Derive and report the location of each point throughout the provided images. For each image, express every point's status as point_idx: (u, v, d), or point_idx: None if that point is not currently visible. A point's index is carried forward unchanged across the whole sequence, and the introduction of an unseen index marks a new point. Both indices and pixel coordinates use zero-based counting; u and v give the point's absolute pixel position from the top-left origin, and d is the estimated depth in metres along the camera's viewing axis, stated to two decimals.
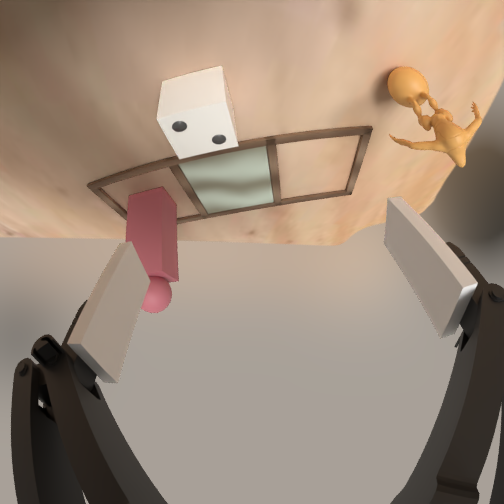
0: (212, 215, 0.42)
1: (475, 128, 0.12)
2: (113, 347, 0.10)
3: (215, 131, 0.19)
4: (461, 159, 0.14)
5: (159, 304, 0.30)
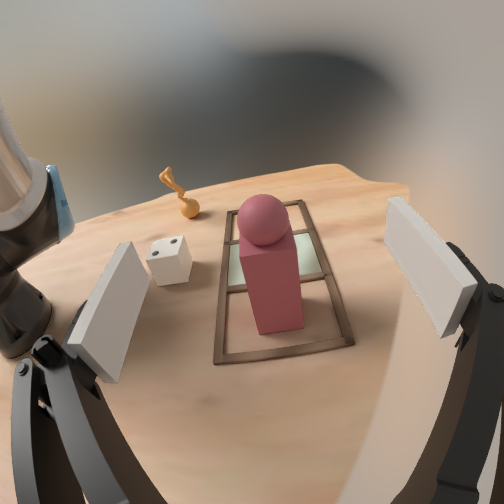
0: (325, 267, 0.37)
1: None
2: (113, 347, 0.10)
3: (168, 242, 0.41)
4: (166, 169, 0.50)
5: None
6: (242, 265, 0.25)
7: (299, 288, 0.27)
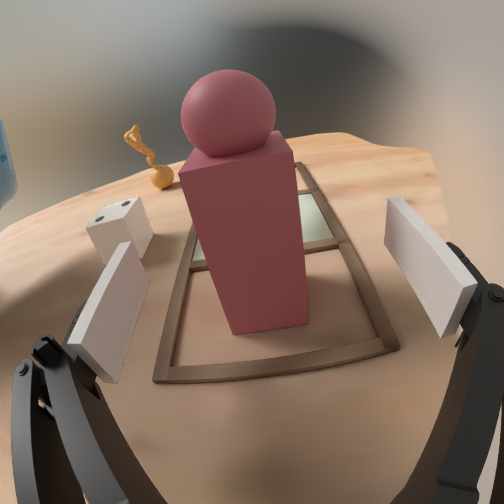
0: (338, 232, 0.24)
1: None
2: (113, 347, 0.10)
3: (118, 205, 0.28)
4: None
5: None
6: (186, 192, 0.12)
7: (301, 244, 0.14)
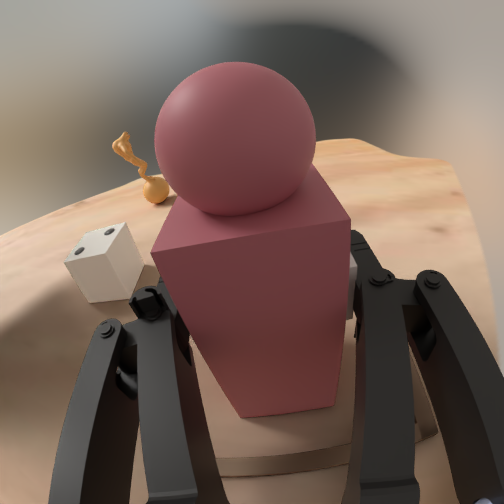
0: None
1: None
2: None
3: (101, 234, 0.23)
4: None
5: None
6: (167, 280, 0.07)
7: (340, 340, 0.09)
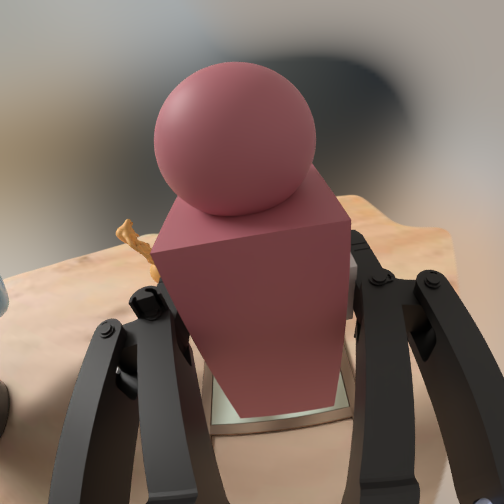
0: (354, 399, 0.22)
1: None
2: None
3: None
4: (124, 222, 0.35)
5: None
6: (166, 281, 0.07)
7: (340, 340, 0.09)
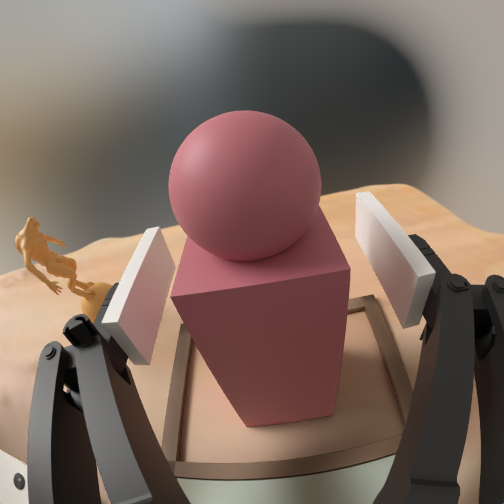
0: None
1: None
2: (145, 328, 0.11)
3: (11, 476, 0.06)
4: (26, 223, 0.16)
5: None
6: (185, 318, 0.08)
7: (339, 362, 0.10)
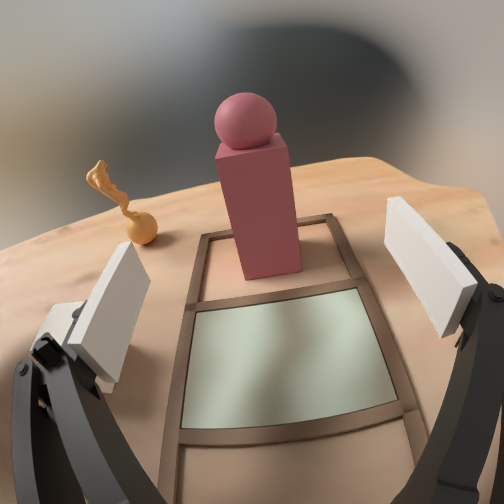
0: (403, 388, 0.13)
1: None
2: (113, 347, 0.10)
3: (69, 314, 0.17)
4: None
5: None
6: (219, 171, 0.19)
7: (293, 207, 0.21)
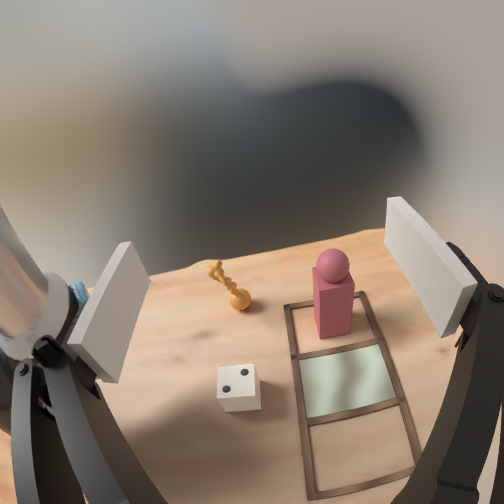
0: (399, 392, 0.31)
1: (208, 265, 0.47)
2: (113, 347, 0.10)
3: (237, 373, 0.35)
4: (215, 263, 0.44)
5: None
6: (320, 295, 0.37)
7: (351, 308, 0.39)
